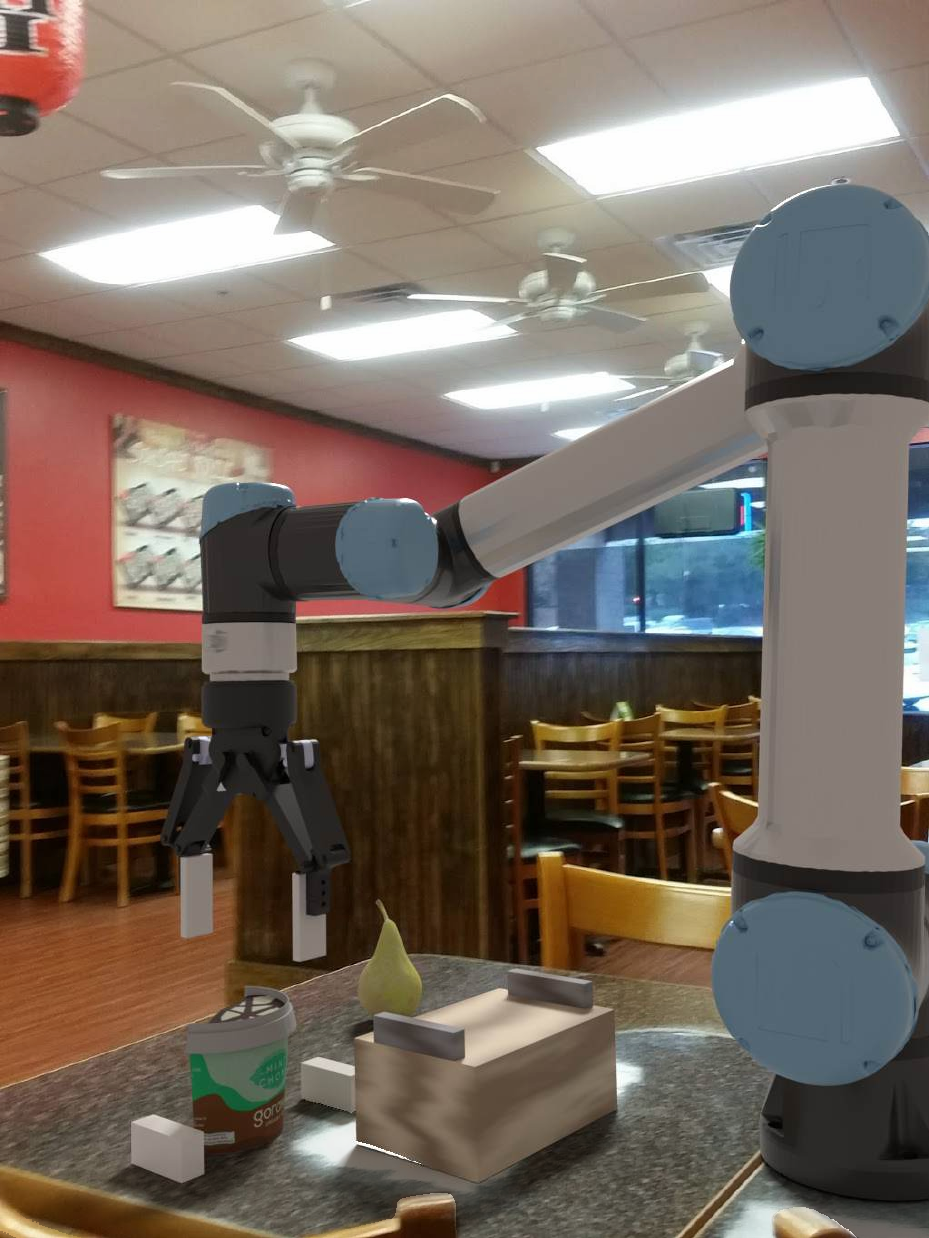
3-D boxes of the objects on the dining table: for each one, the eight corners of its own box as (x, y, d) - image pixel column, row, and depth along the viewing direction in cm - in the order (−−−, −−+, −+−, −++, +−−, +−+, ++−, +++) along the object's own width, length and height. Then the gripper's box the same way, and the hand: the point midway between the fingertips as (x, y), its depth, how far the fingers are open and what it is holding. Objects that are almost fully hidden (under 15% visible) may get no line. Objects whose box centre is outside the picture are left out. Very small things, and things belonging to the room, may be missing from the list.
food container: (265, 1167, 88) (263, 1028, 89) (187, 1162, 90) (185, 1025, 90) (319, 1107, 101) (316, 985, 101) (249, 1104, 102) (247, 984, 102)
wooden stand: (617, 1108, 99) (613, 984, 99) (478, 1183, 85) (474, 1037, 85) (501, 1080, 106) (498, 965, 107) (356, 1144, 92) (353, 1011, 93)
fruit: (369, 1034, 121) (367, 913, 122) (348, 1016, 128) (345, 901, 129) (432, 1026, 123) (429, 907, 124) (407, 1008, 130) (405, 895, 131)
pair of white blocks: (368, 1106, 101) (368, 1069, 101) (181, 1183, 86) (181, 1140, 86) (318, 1091, 104) (318, 1056, 104) (131, 1163, 90) (130, 1122, 90)
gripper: (117, 679, 102) (118, 933, 101) (323, 677, 86) (325, 979, 85) (190, 678, 108) (191, 919, 107) (395, 676, 92) (398, 958, 91)
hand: (250, 946), depth 96 cm, fingers open, 13 cm apart
